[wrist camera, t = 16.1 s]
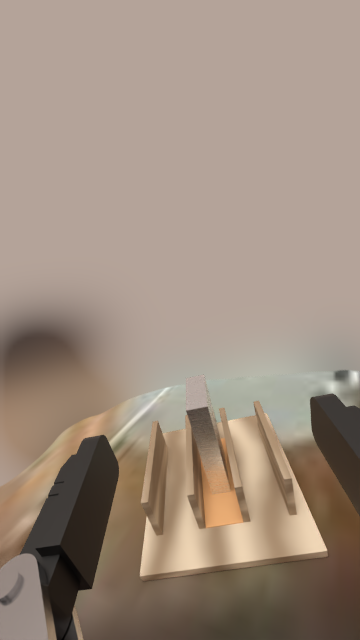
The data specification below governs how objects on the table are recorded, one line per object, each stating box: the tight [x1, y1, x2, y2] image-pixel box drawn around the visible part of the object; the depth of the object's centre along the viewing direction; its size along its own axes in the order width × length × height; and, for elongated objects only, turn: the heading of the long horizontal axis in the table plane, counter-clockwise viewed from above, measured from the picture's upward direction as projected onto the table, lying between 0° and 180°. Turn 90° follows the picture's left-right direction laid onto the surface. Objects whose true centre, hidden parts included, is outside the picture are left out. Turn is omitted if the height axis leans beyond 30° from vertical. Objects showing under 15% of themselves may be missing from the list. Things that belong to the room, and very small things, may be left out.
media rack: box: [140, 401, 328, 581], centre depth 34 cm, size 19×19×7 cm
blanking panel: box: [186, 375, 231, 495], centre depth 33 cm, size 2×6×14 cm, turn 1°
